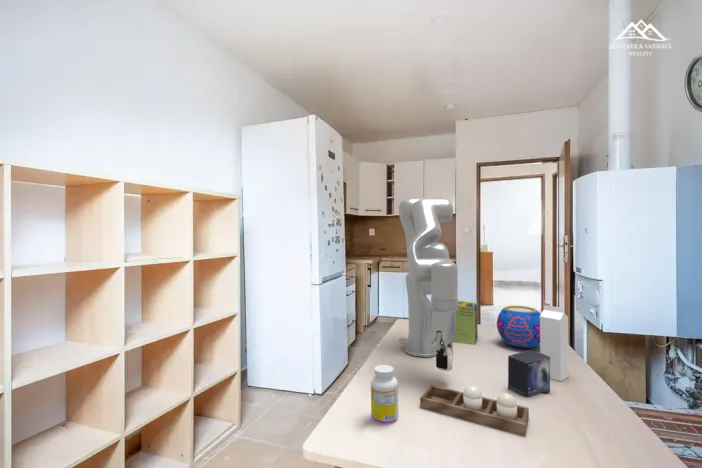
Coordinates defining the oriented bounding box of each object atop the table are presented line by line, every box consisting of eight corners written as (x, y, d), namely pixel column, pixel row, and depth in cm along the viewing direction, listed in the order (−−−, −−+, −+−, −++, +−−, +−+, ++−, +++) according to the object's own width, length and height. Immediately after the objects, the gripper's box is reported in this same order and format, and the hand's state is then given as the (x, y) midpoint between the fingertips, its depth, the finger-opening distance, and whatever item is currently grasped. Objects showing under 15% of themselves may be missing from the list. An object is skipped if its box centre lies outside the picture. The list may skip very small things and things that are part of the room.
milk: (561, 381, 102) (560, 309, 102) (540, 375, 107) (539, 306, 107) (569, 376, 106) (568, 306, 106) (548, 370, 111) (547, 303, 111)
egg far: (495, 423, 79) (495, 395, 79) (498, 414, 83) (498, 387, 83) (516, 428, 77) (515, 399, 77) (518, 419, 81) (517, 392, 81)
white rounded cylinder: (434, 368, 99) (434, 346, 99) (439, 363, 103) (439, 341, 103) (449, 372, 97) (449, 349, 97) (453, 366, 101) (453, 344, 100)
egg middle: (461, 414, 84) (461, 387, 83) (465, 406, 87) (465, 380, 87) (480, 419, 81) (479, 391, 81) (483, 410, 85) (483, 384, 85)
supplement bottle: (378, 410, 87) (377, 361, 87) (402, 417, 84) (401, 366, 84) (366, 423, 82) (365, 370, 81) (391, 431, 78) (391, 376, 78)
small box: (527, 401, 91) (527, 362, 91) (506, 391, 97) (506, 355, 97) (551, 392, 96) (551, 355, 96) (530, 383, 101) (529, 349, 101)
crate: (420, 410, 87) (420, 397, 87) (431, 396, 94) (431, 384, 94) (525, 439, 74) (525, 425, 74) (528, 421, 81) (528, 407, 81)
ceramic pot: (547, 343, 138) (546, 306, 138) (544, 356, 123) (544, 315, 123) (500, 336, 147) (500, 302, 147) (493, 348, 132) (493, 310, 132)
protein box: (475, 344, 137) (475, 306, 137) (437, 340, 144) (437, 303, 144) (478, 337, 147) (477, 301, 147) (442, 333, 153) (441, 299, 153)
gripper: (440, 296, 108) (440, 352, 109) (422, 308, 94) (422, 373, 95) (464, 299, 104) (464, 357, 105) (449, 312, 90) (449, 379, 91)
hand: (444, 364), depth 100 cm, fingers closed on white rounded cylinder, 4 cm apart
